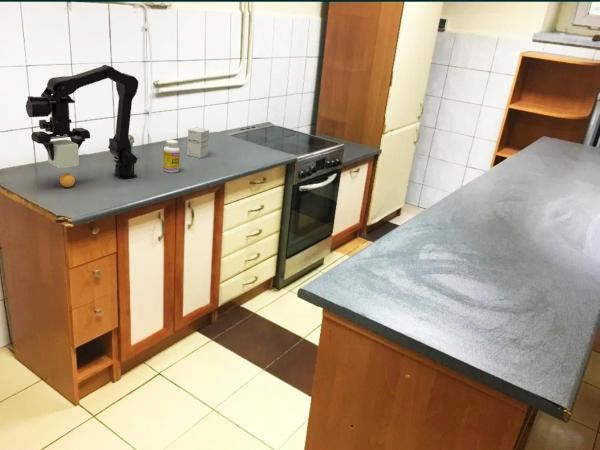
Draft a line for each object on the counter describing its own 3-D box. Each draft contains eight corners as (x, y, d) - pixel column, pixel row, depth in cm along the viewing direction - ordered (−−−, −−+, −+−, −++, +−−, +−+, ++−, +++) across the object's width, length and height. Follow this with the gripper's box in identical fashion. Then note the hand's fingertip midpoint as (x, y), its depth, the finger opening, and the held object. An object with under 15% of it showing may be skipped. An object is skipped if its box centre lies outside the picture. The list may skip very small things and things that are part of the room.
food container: (125, 164, 219) (125, 141, 215) (112, 162, 219) (111, 139, 216) (139, 157, 230) (139, 135, 226) (126, 155, 231) (126, 133, 227)
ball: (73, 170, 187) (78, 182, 187) (68, 175, 191) (73, 187, 190) (60, 172, 183) (65, 185, 183) (55, 177, 187) (60, 190, 187)
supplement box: (186, 155, 242) (187, 128, 237) (195, 152, 249) (196, 126, 244) (199, 158, 240) (201, 132, 235) (208, 155, 247) (209, 129, 242)
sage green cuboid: (68, 159, 191) (67, 139, 188) (79, 165, 187) (78, 144, 184) (48, 162, 185) (46, 141, 182) (58, 168, 181) (57, 147, 178)
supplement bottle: (171, 174, 215) (172, 144, 210) (159, 170, 218) (160, 140, 213) (182, 171, 220) (183, 141, 215) (171, 167, 223) (171, 138, 218)
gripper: (74, 109, 191) (76, 149, 197) (22, 112, 177) (26, 156, 183) (90, 115, 184) (91, 157, 191) (37, 119, 171) (41, 164, 177)
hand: (63, 158), depth 185 cm, fingers closed on sage green cuboid, 7 cm apart
